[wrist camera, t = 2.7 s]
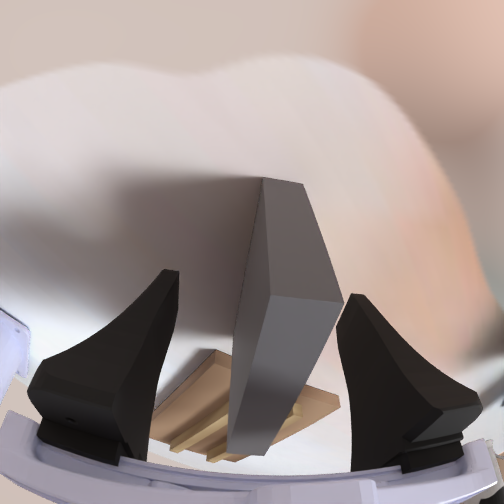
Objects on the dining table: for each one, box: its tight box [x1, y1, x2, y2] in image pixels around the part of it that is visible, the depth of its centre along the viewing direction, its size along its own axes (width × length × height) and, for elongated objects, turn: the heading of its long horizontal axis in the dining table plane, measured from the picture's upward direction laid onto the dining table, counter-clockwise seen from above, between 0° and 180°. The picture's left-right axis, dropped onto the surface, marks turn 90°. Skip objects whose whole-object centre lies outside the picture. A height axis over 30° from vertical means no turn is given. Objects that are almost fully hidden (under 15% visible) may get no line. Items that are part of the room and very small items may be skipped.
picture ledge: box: [149, 350, 340, 463], centre depth 22 cm, size 10×14×2 cm
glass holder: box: [463, 440, 504, 504], centre depth 30 cm, size 9×14×15 cm, turn 108°
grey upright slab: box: [226, 177, 344, 456], centre depth 12 cm, size 2×9×7 cm, turn 171°
